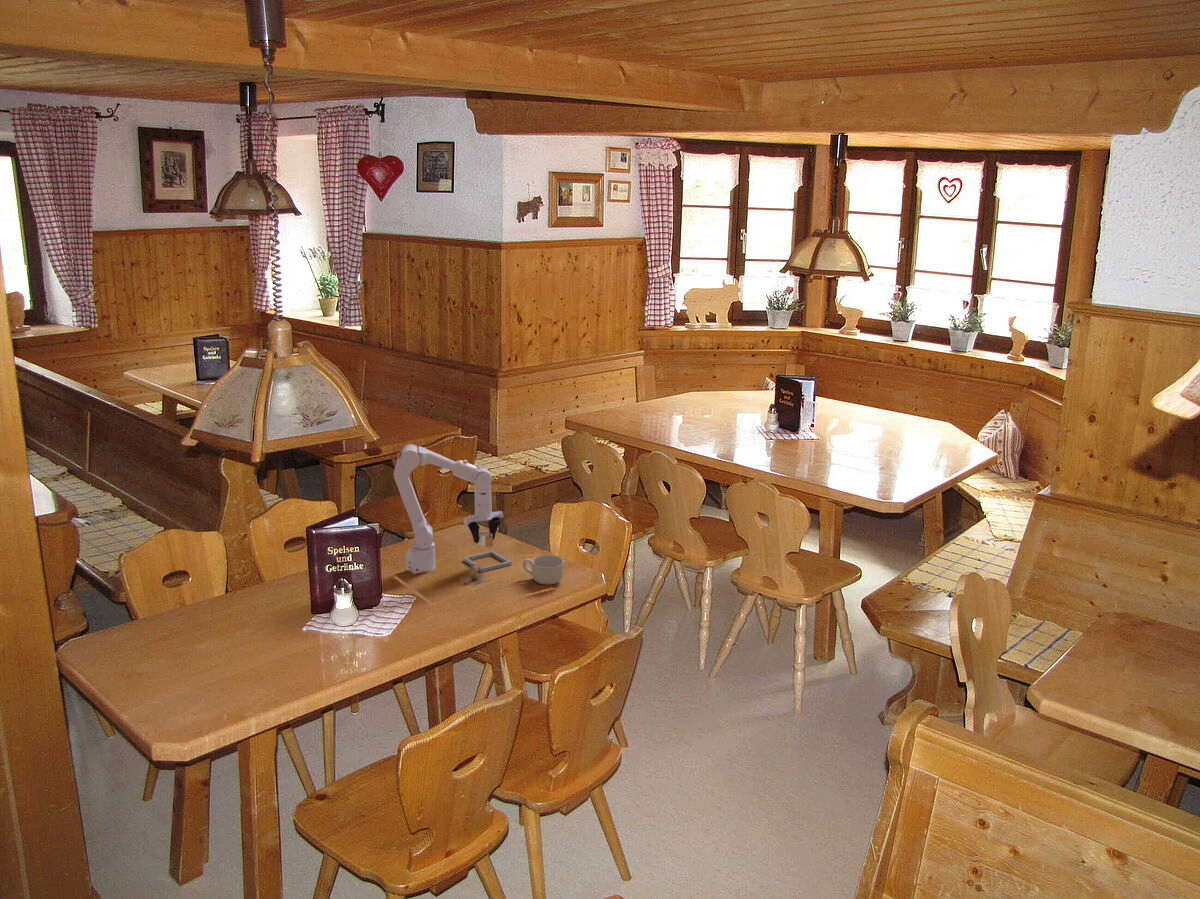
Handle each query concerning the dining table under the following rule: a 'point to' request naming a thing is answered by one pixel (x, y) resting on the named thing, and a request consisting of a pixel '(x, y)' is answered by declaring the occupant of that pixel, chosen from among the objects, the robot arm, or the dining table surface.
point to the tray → (477, 556)
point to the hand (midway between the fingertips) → (484, 540)
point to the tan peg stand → (474, 577)
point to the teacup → (545, 569)
